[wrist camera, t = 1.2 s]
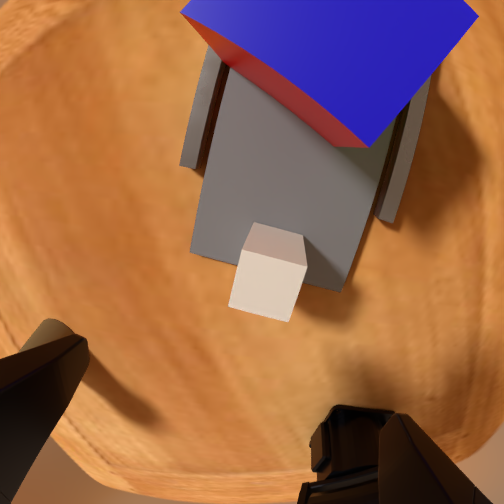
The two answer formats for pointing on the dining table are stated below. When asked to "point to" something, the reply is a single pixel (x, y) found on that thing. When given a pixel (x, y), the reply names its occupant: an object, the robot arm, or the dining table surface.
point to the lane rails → (398, 158)
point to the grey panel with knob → (281, 201)
